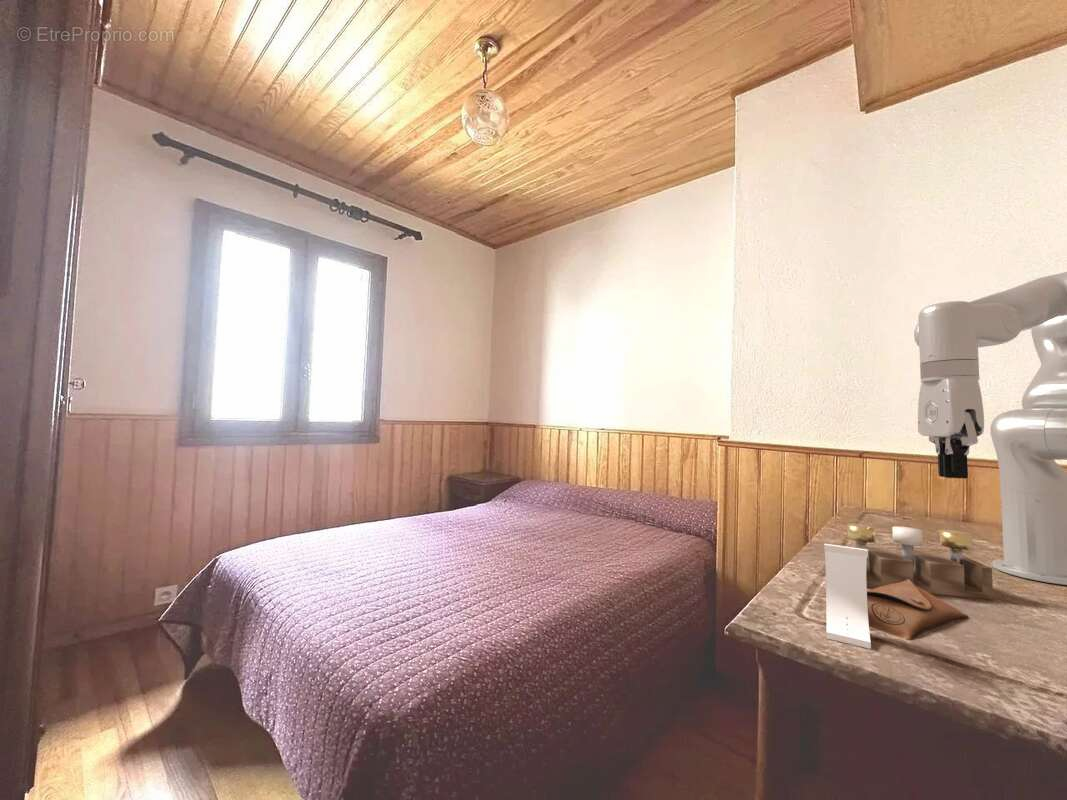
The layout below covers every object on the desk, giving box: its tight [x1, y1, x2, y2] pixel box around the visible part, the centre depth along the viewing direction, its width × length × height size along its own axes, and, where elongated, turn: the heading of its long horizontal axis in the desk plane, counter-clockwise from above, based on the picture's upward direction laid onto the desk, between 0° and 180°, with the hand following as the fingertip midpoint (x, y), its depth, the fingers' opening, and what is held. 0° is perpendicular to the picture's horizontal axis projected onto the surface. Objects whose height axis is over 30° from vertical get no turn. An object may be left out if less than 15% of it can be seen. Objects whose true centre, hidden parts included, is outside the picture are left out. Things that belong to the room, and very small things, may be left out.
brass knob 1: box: [847, 523, 876, 562], centre depth 79 cm, size 4×4×6 cm
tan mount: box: [837, 544, 994, 600], centre depth 76 cm, size 19×8×5 cm, turn 74°
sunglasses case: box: [867, 579, 968, 641], centre depth 64 cm, size 18×7×7 cm
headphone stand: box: [823, 543, 872, 650], centre depth 58 cm, size 5×6×12 cm
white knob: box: [892, 526, 924, 567], centre depth 77 cm, size 4×4×6 cm
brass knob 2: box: [939, 529, 973, 565], centre depth 75 cm, size 4×4×6 cm
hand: (953, 477), depth 75 cm, fingers closed
